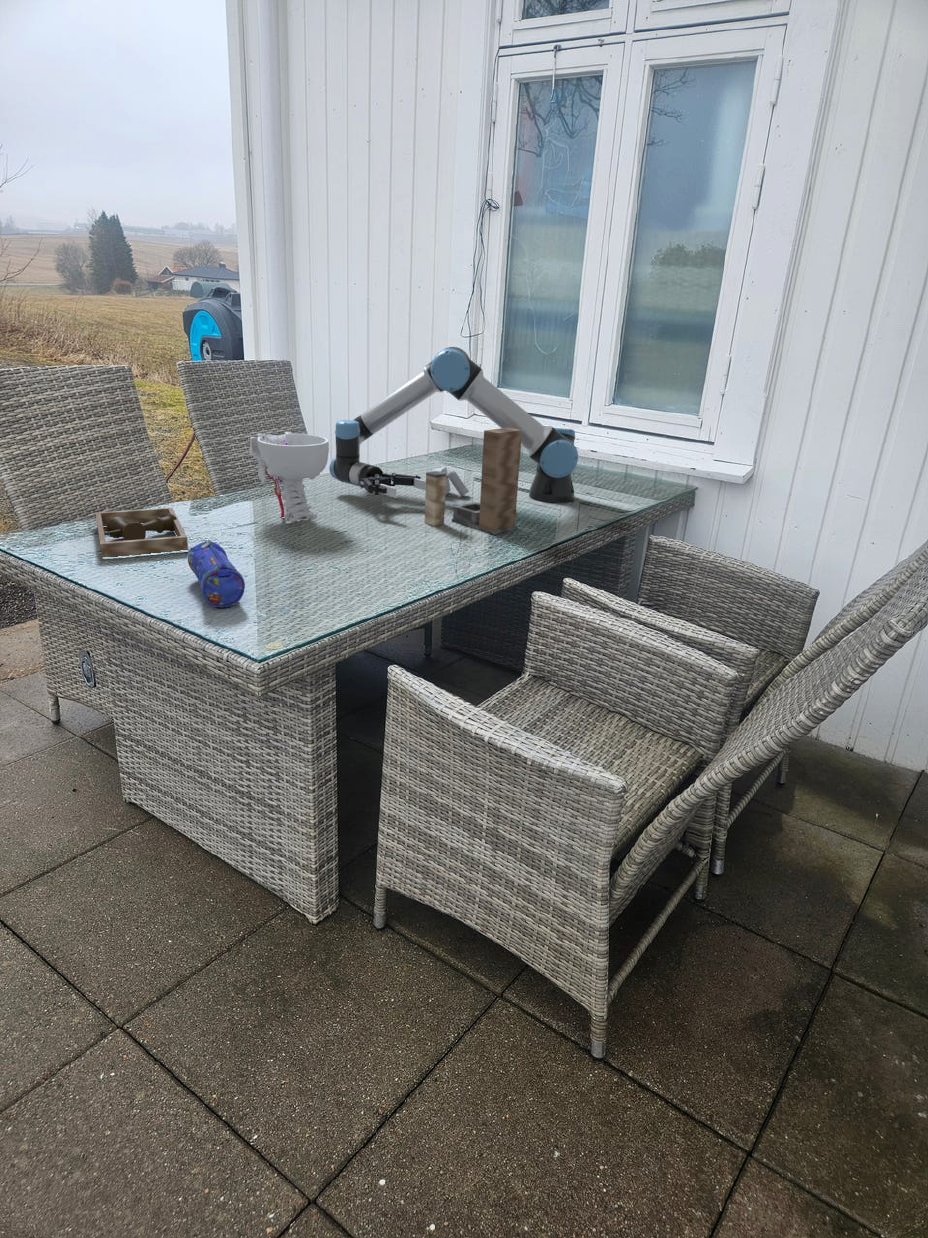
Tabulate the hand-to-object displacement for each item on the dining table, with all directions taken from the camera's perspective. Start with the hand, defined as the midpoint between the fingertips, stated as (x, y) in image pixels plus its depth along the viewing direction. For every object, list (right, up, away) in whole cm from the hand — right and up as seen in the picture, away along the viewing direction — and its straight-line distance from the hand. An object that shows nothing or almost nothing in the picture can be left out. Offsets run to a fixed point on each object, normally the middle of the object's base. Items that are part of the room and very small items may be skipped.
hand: (412, 489), depth 229 cm
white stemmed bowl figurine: (-35, -9, -5) cm, 37 cm away
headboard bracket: (+21, -11, -2) cm, 24 cm away
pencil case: (-39, -33, -60) cm, 79 cm away
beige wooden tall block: (+6, -10, -3) cm, 12 cm away
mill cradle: (-68, -18, -29) cm, 76 cm away
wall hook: (+11, +3, +30) cm, 32 cm away
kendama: (-68, -18, -29) cm, 76 cm away
